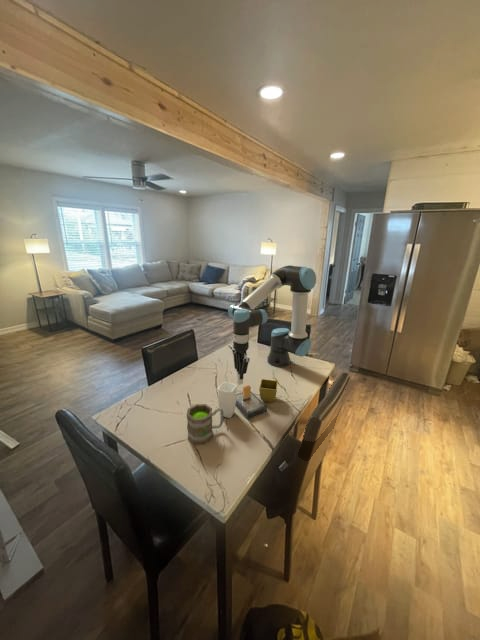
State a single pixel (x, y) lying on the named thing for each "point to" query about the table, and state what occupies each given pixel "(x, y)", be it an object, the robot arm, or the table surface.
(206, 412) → the mug
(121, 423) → the table surface
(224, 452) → the table surface
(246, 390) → the paddle
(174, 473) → the table surface
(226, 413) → the cup
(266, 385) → the flower pot
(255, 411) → the panel
